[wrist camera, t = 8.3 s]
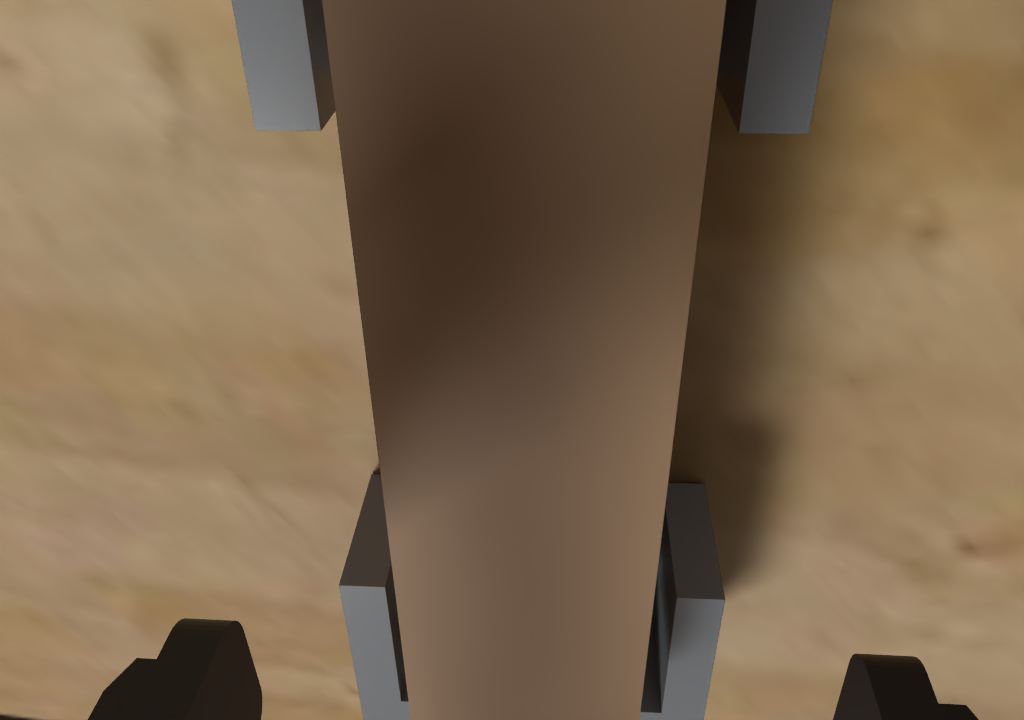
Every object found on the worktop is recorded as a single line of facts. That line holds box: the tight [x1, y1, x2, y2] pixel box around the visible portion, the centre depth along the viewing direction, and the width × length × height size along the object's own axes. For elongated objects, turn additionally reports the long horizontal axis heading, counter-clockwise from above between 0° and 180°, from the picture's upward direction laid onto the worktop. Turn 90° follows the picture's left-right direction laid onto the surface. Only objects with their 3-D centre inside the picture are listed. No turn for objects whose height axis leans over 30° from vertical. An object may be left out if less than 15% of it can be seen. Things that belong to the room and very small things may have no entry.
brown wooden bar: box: [322, 0, 726, 720], centre depth 16 cm, size 4×16×6 cm, turn 1°
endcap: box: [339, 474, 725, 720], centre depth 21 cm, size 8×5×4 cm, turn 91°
